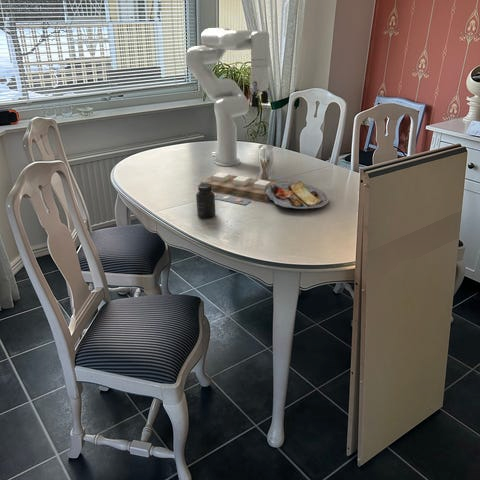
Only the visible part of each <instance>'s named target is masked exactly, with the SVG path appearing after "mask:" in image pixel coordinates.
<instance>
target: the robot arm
mask: <svg viewBox="0 0 480 480" xmlns="http://www.w3.org/2000/svg"><path fill="white" fill-rule="evenodd" d="M200 41H201V43H202V45H195V46H191V47H190V48H188V50H187V51H186V52H185V61H186V66H187V68H188V70H189V72H190V73H191V75H193V77H194V78H195V79H196V80H197V81H198V83H199V84H200V86H201V88H202V90H203V91H204V93H205V94H206V96H207V97H208V98H209V100H211V101H215V103H214V105H213V111H214V115H215V121H216V135H217V137H216V138H217V139H216V141H217V145H216V146H217V152H215V151H212V153H211V158H215V160H214V164H215V165H217V166H221V167H234V166H237V165H239V164H240V163H241V160H240V158H238V148H237V147H238V145H237V144H238V143H237V141H238V140H237V138H238V137H237V136H238V135H237V134H238V133H237V131H238V130H237V123H236V122H235V121H234V118H235V117H236V118H237V117H239V116H244V115H246V114H248V112H249V109H250V103H249V101H248V99H247V97H246V96H245V94H244V92H243V91H242V89H241V88H240V86H239V85H238V83H237V82H236V81H235V80H234V79H232V78H218V77H217V75H216V74H215V73H214V71H213V70H212V69H211V68H209V67H208V66H206V65H209V64H211V65H212V64H217V63H219V62H220V61H221V59H222V58H223V56H224V55H225V53H226V52H227V51H244V50H245V51H247V50H250V58H251V59H250V67H251V69H250V74H249V75H250V76H249V91H250V97H251V108H259V107H260V103H261V104H269V91H270V90H269V89H270V88H269V87H270V82H269V81H270V80H269V79H270V78H269V77H270V75H269V74H270V73H269V67H270V33H269V32H268V31H266V30H255V29H249V30H248V29H246V30H245V29H244V30H231V29H230V28H227V27H209V28H206V29H204V30H203V31H202V32H201V35H200ZM260 93H261V94H260ZM259 96H260V98H259Z"/></svg>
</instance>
